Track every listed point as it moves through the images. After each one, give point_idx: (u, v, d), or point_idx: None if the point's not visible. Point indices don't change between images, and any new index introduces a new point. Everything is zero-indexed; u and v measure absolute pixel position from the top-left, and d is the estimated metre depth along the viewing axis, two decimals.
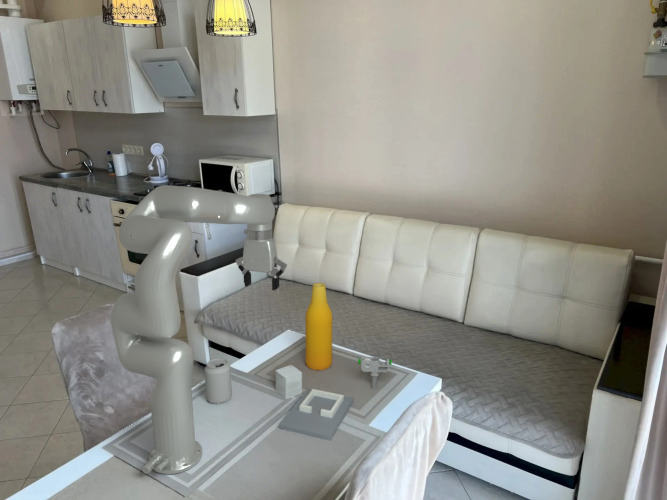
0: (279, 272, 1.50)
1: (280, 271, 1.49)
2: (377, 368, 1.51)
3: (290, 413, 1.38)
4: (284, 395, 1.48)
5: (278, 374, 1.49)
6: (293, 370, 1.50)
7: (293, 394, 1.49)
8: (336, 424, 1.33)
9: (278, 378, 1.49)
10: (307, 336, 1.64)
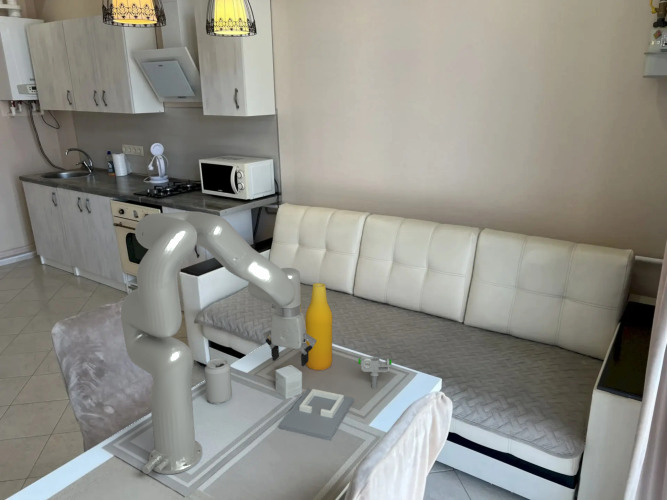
0: (308, 348, 1.45)
1: (310, 347, 1.45)
2: (377, 368, 1.51)
3: (290, 413, 1.38)
4: (284, 395, 1.48)
5: (278, 374, 1.49)
6: (293, 370, 1.50)
7: (293, 394, 1.49)
8: (336, 424, 1.33)
9: (278, 378, 1.49)
10: None
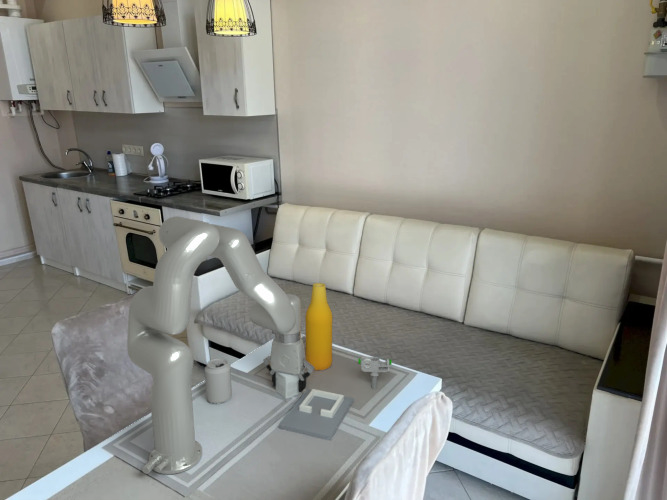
0: (306, 375, 1.47)
1: (307, 374, 1.47)
2: (377, 368, 1.51)
3: (290, 413, 1.38)
4: (284, 395, 1.48)
5: (278, 374, 1.49)
6: None
7: (293, 394, 1.49)
8: (336, 424, 1.33)
9: (278, 378, 1.49)
10: (307, 336, 1.64)
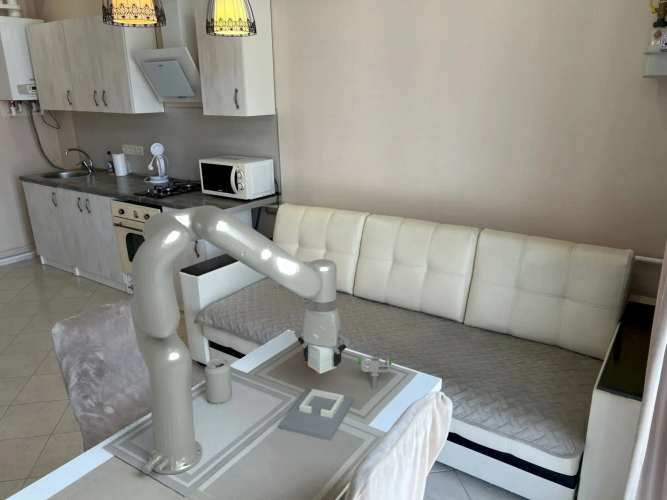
0: (342, 347, 1.35)
1: (343, 346, 1.34)
2: (377, 368, 1.51)
3: (290, 413, 1.38)
4: (318, 369, 1.36)
5: (311, 347, 1.37)
6: None
7: (327, 368, 1.37)
8: (336, 424, 1.33)
9: (311, 351, 1.37)
10: None
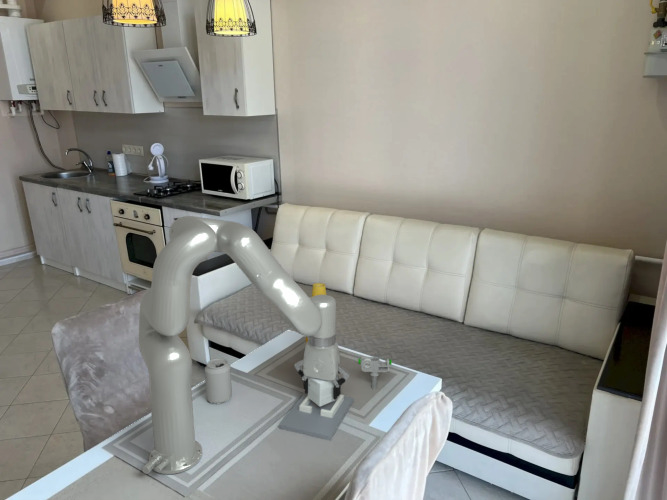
0: (341, 381, 1.37)
1: (343, 380, 1.37)
2: (377, 368, 1.51)
3: (290, 413, 1.38)
4: (318, 402, 1.38)
5: (311, 380, 1.39)
6: None
7: (327, 401, 1.39)
8: (336, 424, 1.33)
9: (311, 384, 1.40)
10: None
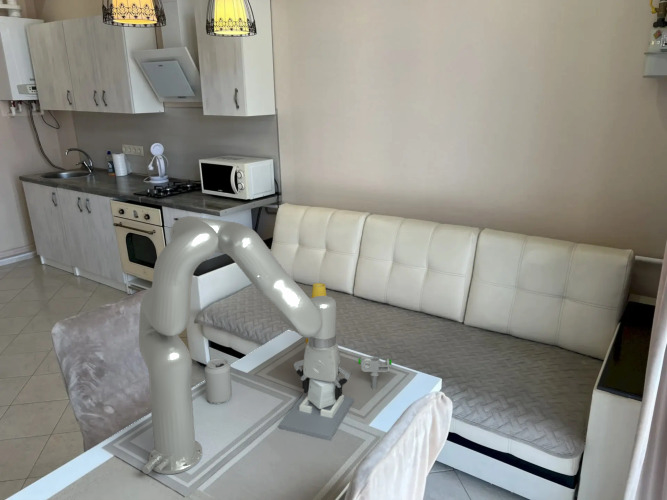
0: (343, 381, 1.37)
1: (344, 380, 1.37)
2: (377, 368, 1.51)
3: (290, 413, 1.38)
4: (318, 405, 1.38)
5: (313, 382, 1.39)
6: None
7: (327, 404, 1.39)
8: (336, 424, 1.33)
9: (312, 386, 1.40)
10: None
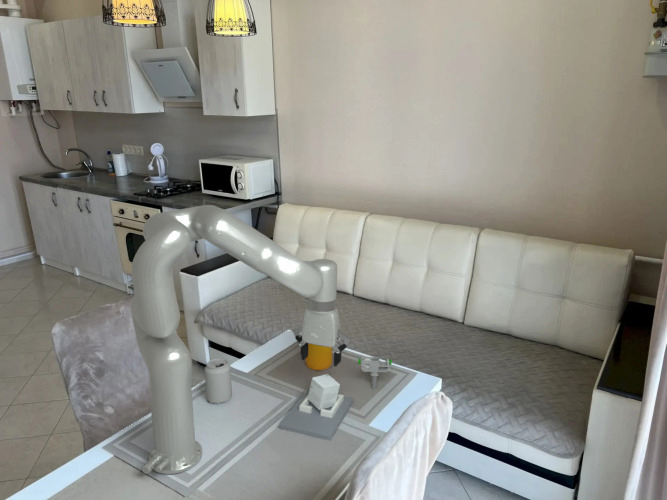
0: (342, 347, 1.34)
1: (344, 346, 1.34)
2: (377, 368, 1.51)
3: (290, 413, 1.38)
4: (318, 406, 1.38)
5: (315, 382, 1.39)
6: (330, 381, 1.41)
7: (327, 406, 1.40)
8: (336, 424, 1.33)
9: (314, 387, 1.40)
10: None
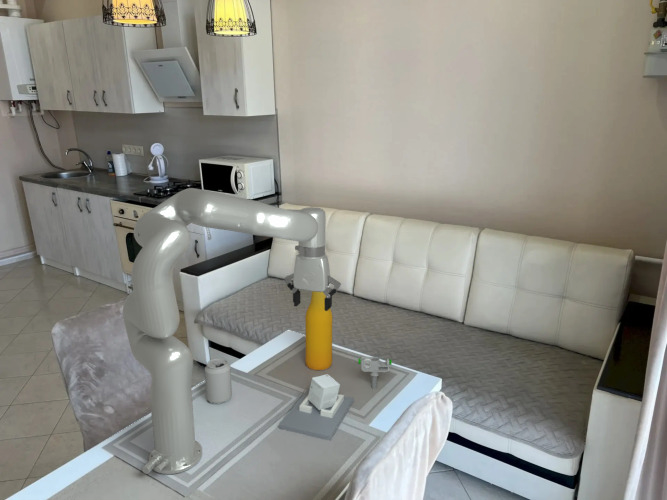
0: (333, 291, 1.39)
1: (334, 290, 1.39)
2: (377, 368, 1.51)
3: (290, 413, 1.38)
4: (318, 406, 1.38)
5: (315, 383, 1.39)
6: (330, 381, 1.40)
7: (327, 406, 1.40)
8: (336, 424, 1.33)
9: (314, 387, 1.40)
10: (307, 336, 1.64)
